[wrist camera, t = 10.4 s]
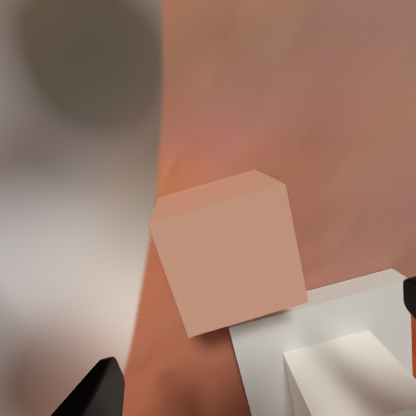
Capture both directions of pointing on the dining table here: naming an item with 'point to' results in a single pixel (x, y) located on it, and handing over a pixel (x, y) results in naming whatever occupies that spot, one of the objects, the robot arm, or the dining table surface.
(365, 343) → the off-white brick
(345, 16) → the dining table surface
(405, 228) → the dining table surface
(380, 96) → the dining table surface
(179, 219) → the terracotta brick
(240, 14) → the dining table surface
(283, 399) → the baseplate
